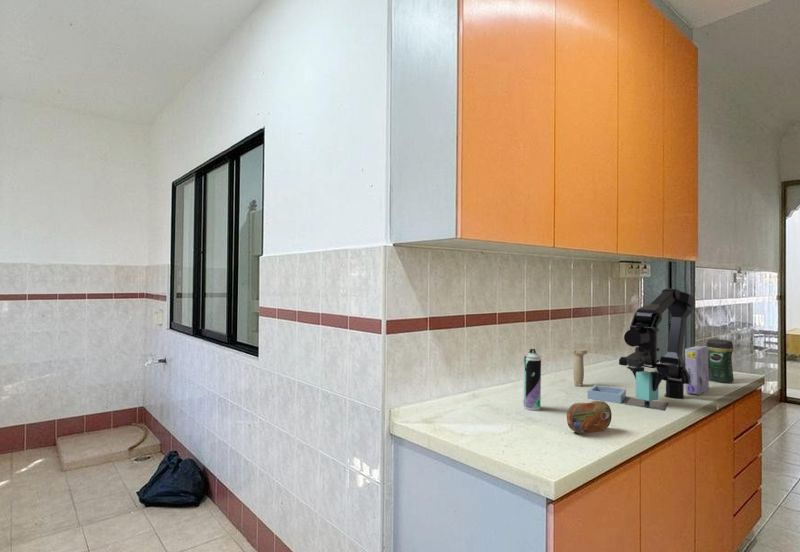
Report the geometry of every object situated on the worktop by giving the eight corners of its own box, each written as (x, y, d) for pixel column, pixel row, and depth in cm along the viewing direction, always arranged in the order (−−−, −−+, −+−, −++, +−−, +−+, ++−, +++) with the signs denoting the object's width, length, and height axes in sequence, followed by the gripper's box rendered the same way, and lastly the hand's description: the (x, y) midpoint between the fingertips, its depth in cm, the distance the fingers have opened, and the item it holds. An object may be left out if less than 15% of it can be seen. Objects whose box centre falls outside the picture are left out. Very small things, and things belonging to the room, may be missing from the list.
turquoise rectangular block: (645, 396, 162) (645, 370, 162) (658, 399, 158) (658, 373, 158) (635, 397, 160) (635, 372, 160) (649, 401, 156) (649, 374, 156)
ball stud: (630, 399, 167) (630, 382, 167) (668, 404, 160) (668, 387, 161) (625, 406, 158) (625, 388, 158) (665, 412, 151) (665, 393, 151)
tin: (572, 435, 126) (573, 405, 126) (564, 432, 129) (564, 402, 129) (612, 429, 132) (612, 400, 132) (603, 426, 135) (604, 398, 135)
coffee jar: (736, 382, 201) (736, 340, 201) (727, 384, 196) (728, 341, 197) (712, 378, 209) (712, 337, 209) (703, 379, 205) (703, 338, 205)
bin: (594, 394, 174) (594, 385, 174) (625, 398, 168) (626, 389, 168) (587, 400, 165) (587, 390, 165) (620, 405, 159) (620, 395, 159)
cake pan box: (696, 386, 191) (696, 344, 192) (710, 388, 188) (710, 345, 188) (684, 393, 178) (684, 348, 178) (699, 396, 174) (699, 350, 174)
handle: (581, 388, 184) (582, 351, 185) (568, 384, 190) (568, 348, 190) (589, 386, 187) (589, 350, 187) (575, 383, 192) (575, 348, 193)
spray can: (531, 411, 149) (532, 350, 150) (520, 407, 154) (520, 348, 154) (543, 409, 152) (544, 349, 152) (532, 405, 157) (532, 347, 157)
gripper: (608, 342, 164) (608, 385, 164) (658, 349, 147) (657, 397, 147) (629, 341, 169) (629, 383, 169) (679, 347, 152) (679, 394, 152)
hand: (647, 389), depth 159 cm, fingers closed on turquoise rectangular block, 5 cm apart
